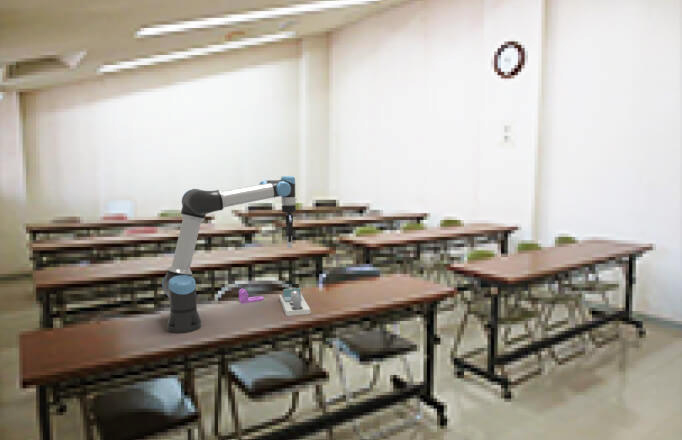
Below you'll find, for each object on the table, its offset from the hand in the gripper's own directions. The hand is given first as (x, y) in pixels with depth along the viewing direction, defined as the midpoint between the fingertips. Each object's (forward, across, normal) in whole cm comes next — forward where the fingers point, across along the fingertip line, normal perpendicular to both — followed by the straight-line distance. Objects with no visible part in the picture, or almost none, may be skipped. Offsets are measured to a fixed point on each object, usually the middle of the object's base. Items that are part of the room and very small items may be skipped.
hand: (289, 247), depth 257 cm
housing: (+29, -12, 0) cm, 32 cm away
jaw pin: (+29, -16, 0) cm, 33 cm away
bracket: (+30, +4, +21) cm, 37 cm away
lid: (+27, -8, 0) cm, 28 cm away
